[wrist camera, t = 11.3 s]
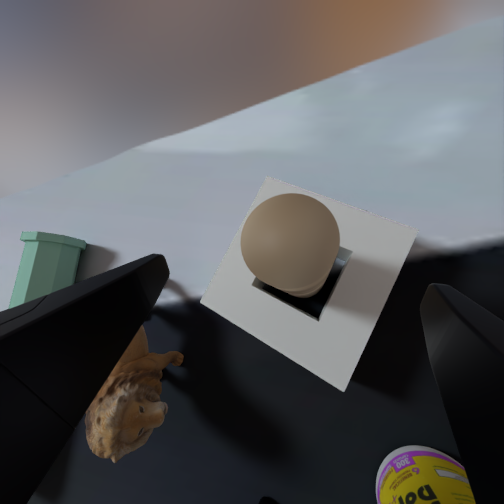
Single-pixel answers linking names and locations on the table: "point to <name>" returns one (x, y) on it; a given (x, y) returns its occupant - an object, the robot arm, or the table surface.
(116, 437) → the lion figurine
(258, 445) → the table surface
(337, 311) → the socket
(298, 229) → the peg
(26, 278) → the container
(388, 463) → the supplement bottle
